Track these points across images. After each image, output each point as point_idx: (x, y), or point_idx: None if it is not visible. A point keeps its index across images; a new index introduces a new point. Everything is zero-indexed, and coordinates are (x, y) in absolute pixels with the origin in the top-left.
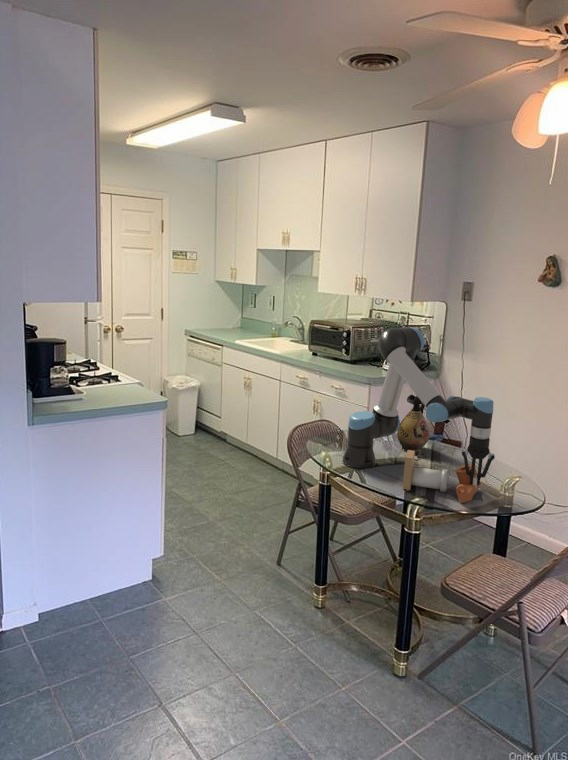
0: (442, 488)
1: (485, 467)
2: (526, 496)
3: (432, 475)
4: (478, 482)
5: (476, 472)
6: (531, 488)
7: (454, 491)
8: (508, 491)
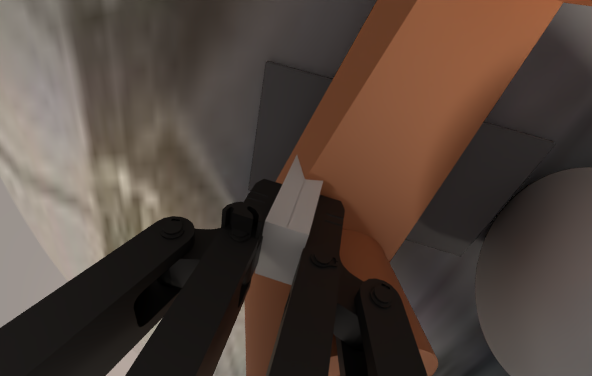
0: None
1: (56, 356)
2: (33, 156)
3: None
4: (262, 196)
5: (250, 325)
6: (41, 234)
7: (442, 199)
8: (119, 208)
